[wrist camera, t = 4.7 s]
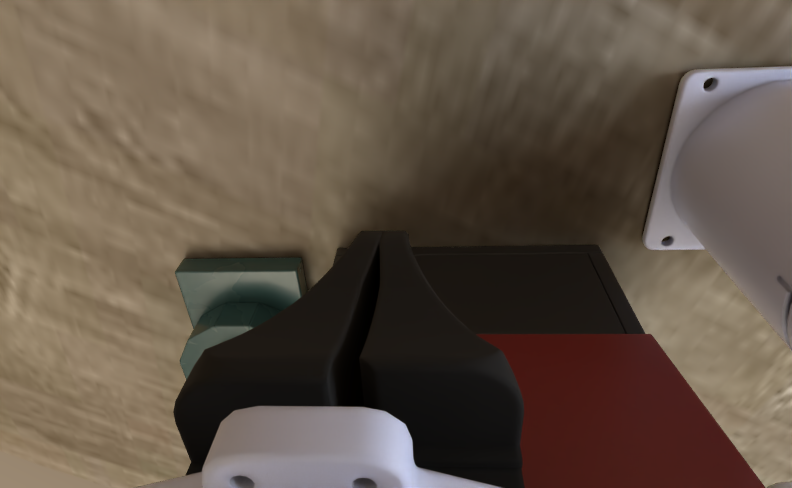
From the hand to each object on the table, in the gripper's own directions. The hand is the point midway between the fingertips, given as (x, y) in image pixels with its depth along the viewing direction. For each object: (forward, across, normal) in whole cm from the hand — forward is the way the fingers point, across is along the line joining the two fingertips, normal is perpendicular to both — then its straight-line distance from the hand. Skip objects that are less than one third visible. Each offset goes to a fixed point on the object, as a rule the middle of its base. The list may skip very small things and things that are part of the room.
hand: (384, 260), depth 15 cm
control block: (+9, +8, +11) cm, 16 cm away
